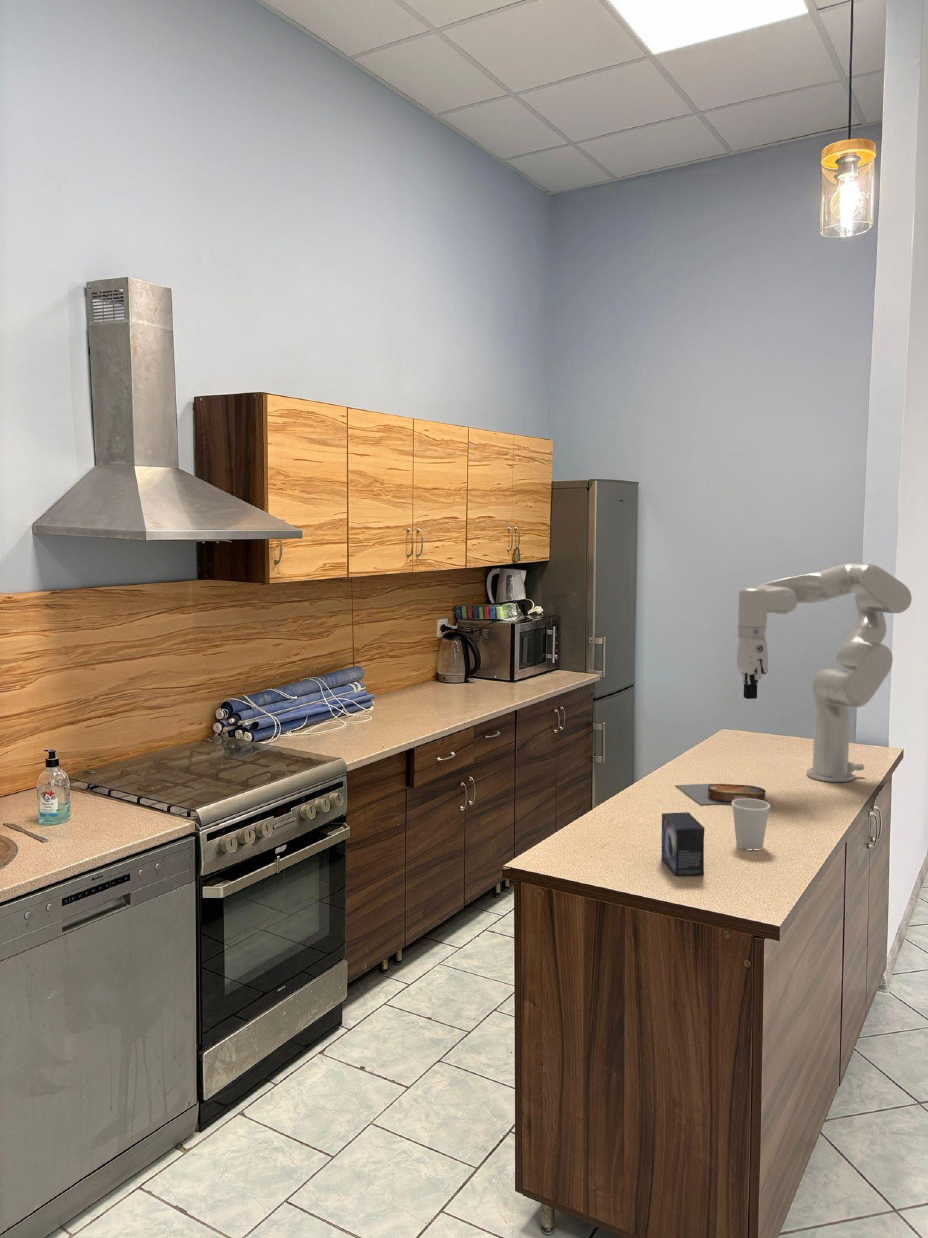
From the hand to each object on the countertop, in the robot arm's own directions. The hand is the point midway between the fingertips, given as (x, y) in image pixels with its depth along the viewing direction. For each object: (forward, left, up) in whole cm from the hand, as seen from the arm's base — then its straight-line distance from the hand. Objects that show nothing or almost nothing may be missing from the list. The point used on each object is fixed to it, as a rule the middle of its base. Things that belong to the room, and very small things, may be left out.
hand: (750, 698), depth 251 cm
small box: (+41, +56, -25) cm, 74 cm away
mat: (+14, +6, -25) cm, 30 cm away
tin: (+8, +7, -24) cm, 26 cm away
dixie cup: (+21, +46, -25) cm, 57 cm away
